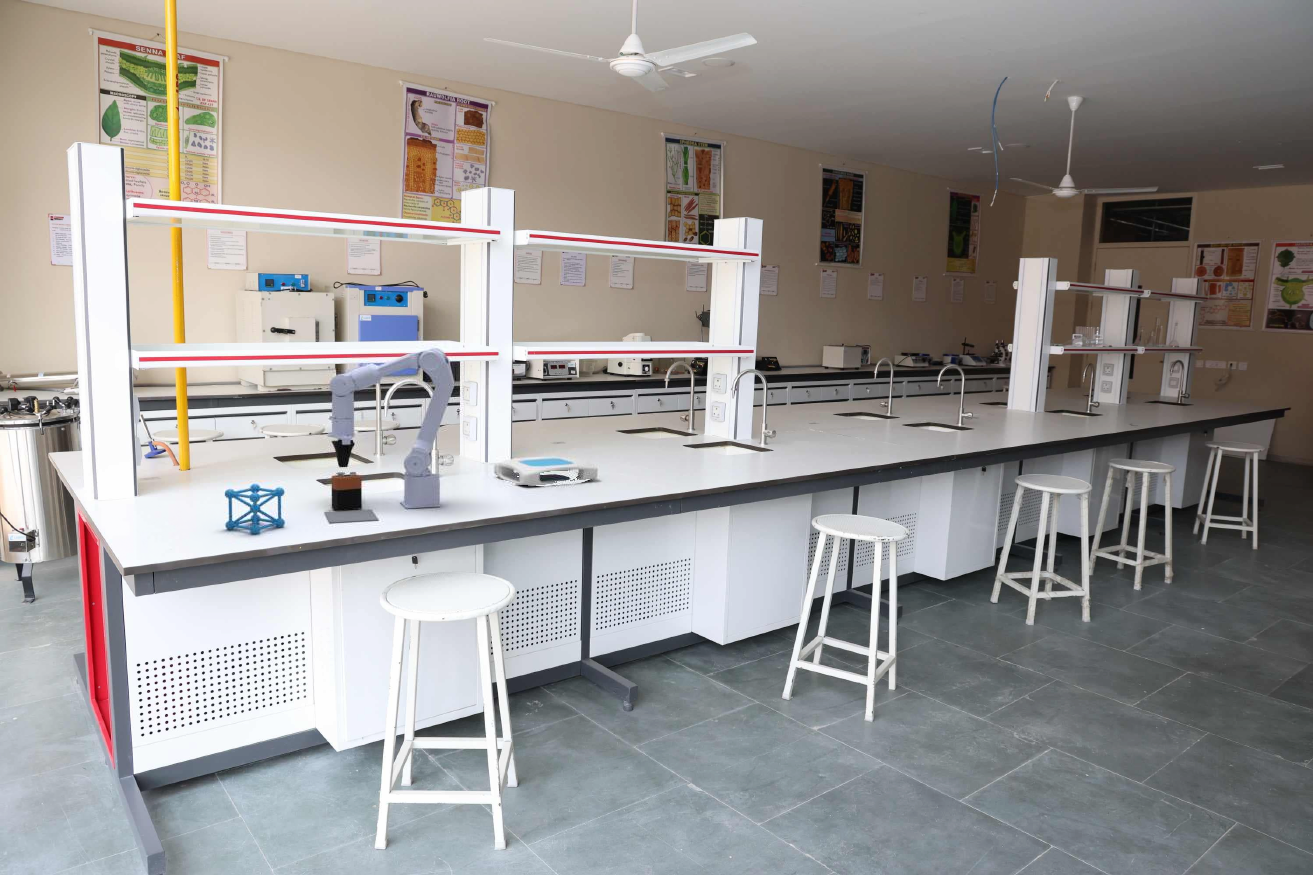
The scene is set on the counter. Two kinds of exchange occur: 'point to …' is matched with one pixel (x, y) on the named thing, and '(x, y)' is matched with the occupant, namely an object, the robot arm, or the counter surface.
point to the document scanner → (541, 469)
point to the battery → (346, 491)
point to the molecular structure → (254, 508)
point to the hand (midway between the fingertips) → (343, 466)
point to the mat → (350, 516)
